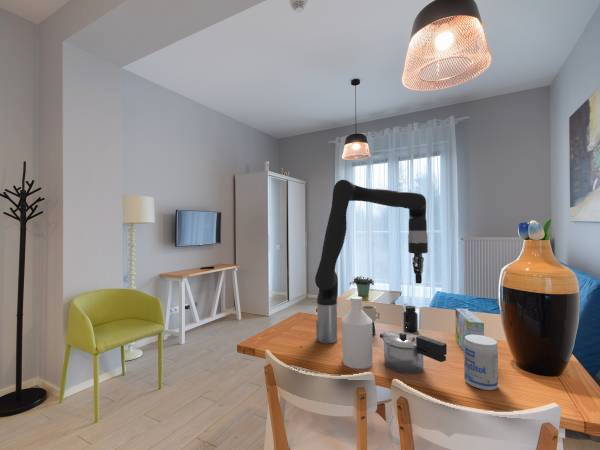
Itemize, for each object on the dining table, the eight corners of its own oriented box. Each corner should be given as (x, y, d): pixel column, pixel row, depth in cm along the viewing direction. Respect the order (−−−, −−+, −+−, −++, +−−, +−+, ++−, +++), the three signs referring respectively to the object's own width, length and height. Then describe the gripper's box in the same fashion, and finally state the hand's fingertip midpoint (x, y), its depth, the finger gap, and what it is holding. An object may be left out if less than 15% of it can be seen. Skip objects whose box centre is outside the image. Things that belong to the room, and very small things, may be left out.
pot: (370, 359, 115) (369, 336, 115) (394, 351, 123) (393, 329, 123) (431, 390, 92) (430, 362, 93) (456, 378, 100) (455, 351, 100)
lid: (375, 339, 112) (374, 329, 112) (399, 331, 120) (399, 322, 120) (431, 361, 93) (431, 349, 93) (456, 351, 101) (456, 339, 101)
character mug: (381, 332, 144) (381, 306, 145) (378, 337, 138) (377, 310, 139) (360, 329, 150) (360, 304, 150) (356, 333, 144) (355, 307, 144)
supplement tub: (461, 384, 96) (460, 339, 96) (467, 373, 103) (466, 332, 103) (496, 395, 89) (495, 347, 90) (500, 382, 97) (499, 338, 97)
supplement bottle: (403, 331, 146) (402, 307, 146) (403, 327, 152) (403, 304, 152) (417, 333, 143) (417, 309, 143) (417, 329, 150) (417, 305, 150)
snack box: (485, 361, 112) (484, 322, 112) (469, 360, 113) (468, 321, 114) (468, 341, 133) (467, 308, 133) (454, 340, 134) (454, 307, 134)
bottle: (336, 358, 116) (335, 296, 117) (360, 353, 121) (359, 293, 121) (353, 371, 105) (352, 302, 106) (379, 365, 110) (378, 299, 111)
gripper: (411, 240, 129) (411, 280, 128) (405, 242, 117) (406, 285, 117) (429, 241, 125) (430, 281, 125) (425, 242, 114) (426, 286, 113)
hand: (418, 283), depth 121 cm, fingers closed
